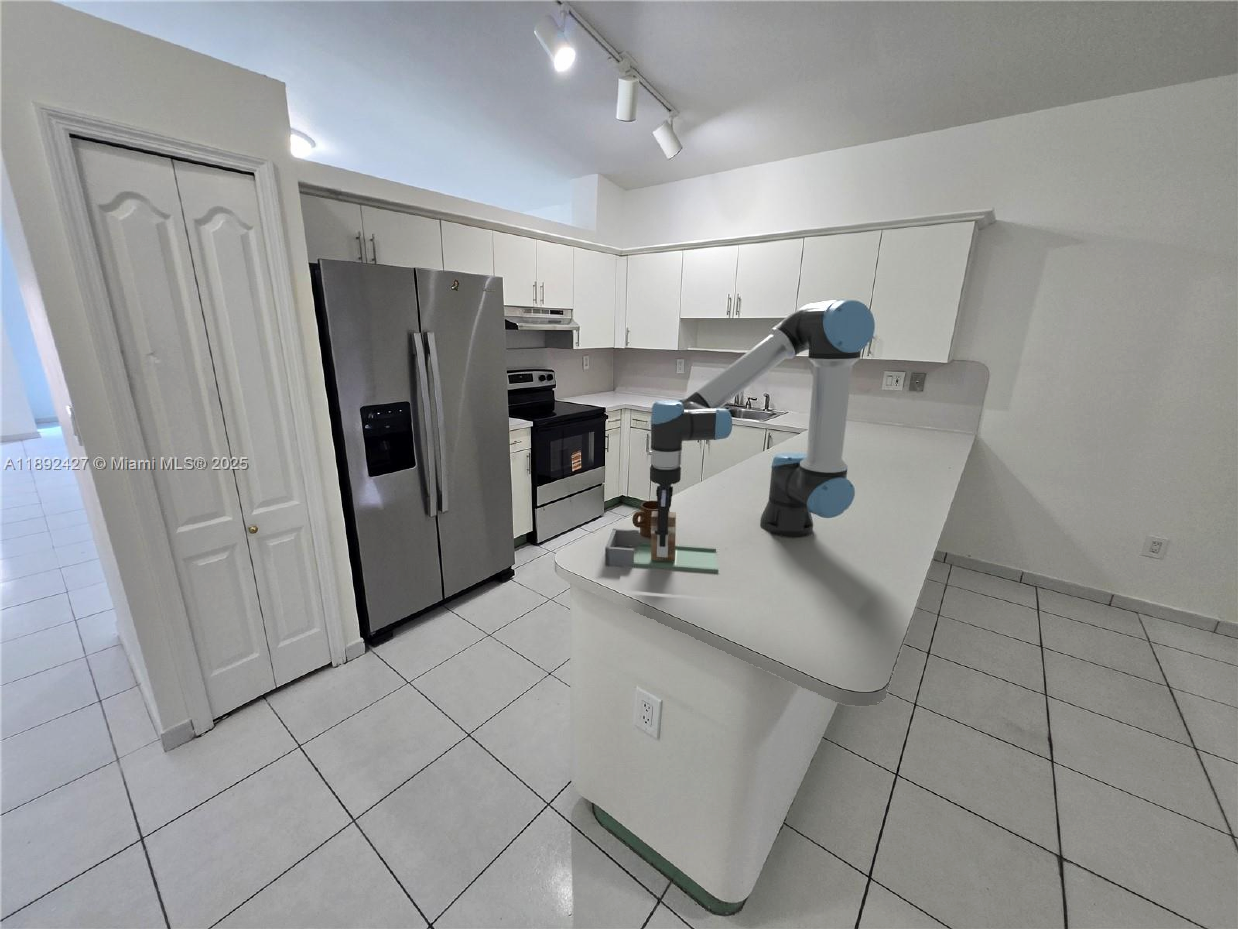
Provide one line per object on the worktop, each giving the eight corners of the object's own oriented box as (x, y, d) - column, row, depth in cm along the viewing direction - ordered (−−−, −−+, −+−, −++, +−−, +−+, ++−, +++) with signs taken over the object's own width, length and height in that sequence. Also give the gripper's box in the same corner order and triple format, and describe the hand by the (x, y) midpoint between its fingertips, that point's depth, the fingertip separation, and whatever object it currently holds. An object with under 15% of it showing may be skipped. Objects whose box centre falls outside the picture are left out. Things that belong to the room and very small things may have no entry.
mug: (642, 547, 128) (643, 516, 125) (623, 538, 133) (623, 508, 130) (671, 535, 136) (672, 505, 133) (652, 527, 141) (652, 498, 138)
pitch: (715, 552, 125) (716, 535, 124) (718, 574, 114) (719, 556, 112) (612, 545, 129) (612, 528, 128) (605, 566, 118) (605, 548, 116)
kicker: (675, 554, 121) (676, 512, 117) (674, 561, 117) (675, 517, 114) (652, 553, 122) (652, 511, 118) (650, 560, 118) (650, 516, 115)
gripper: (652, 455, 121) (650, 537, 128) (646, 474, 105) (645, 567, 112) (681, 456, 120) (678, 539, 126) (680, 476, 104) (676, 569, 111)
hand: (662, 552), depth 119 cm, fingers closed on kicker, 4 cm apart
